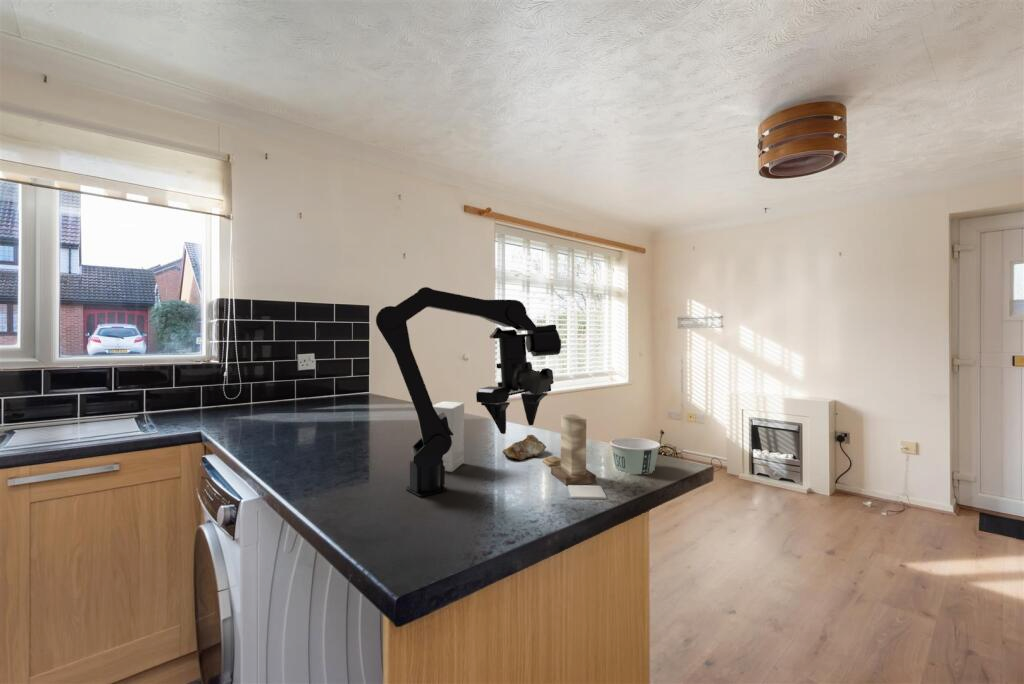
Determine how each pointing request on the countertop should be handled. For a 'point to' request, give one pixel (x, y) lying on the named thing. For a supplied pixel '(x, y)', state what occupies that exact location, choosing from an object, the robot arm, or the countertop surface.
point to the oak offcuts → (552, 461)
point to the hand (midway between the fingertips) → (517, 429)
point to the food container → (635, 455)
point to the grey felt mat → (586, 492)
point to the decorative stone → (525, 448)
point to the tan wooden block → (573, 445)
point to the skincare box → (456, 424)
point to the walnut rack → (573, 477)
